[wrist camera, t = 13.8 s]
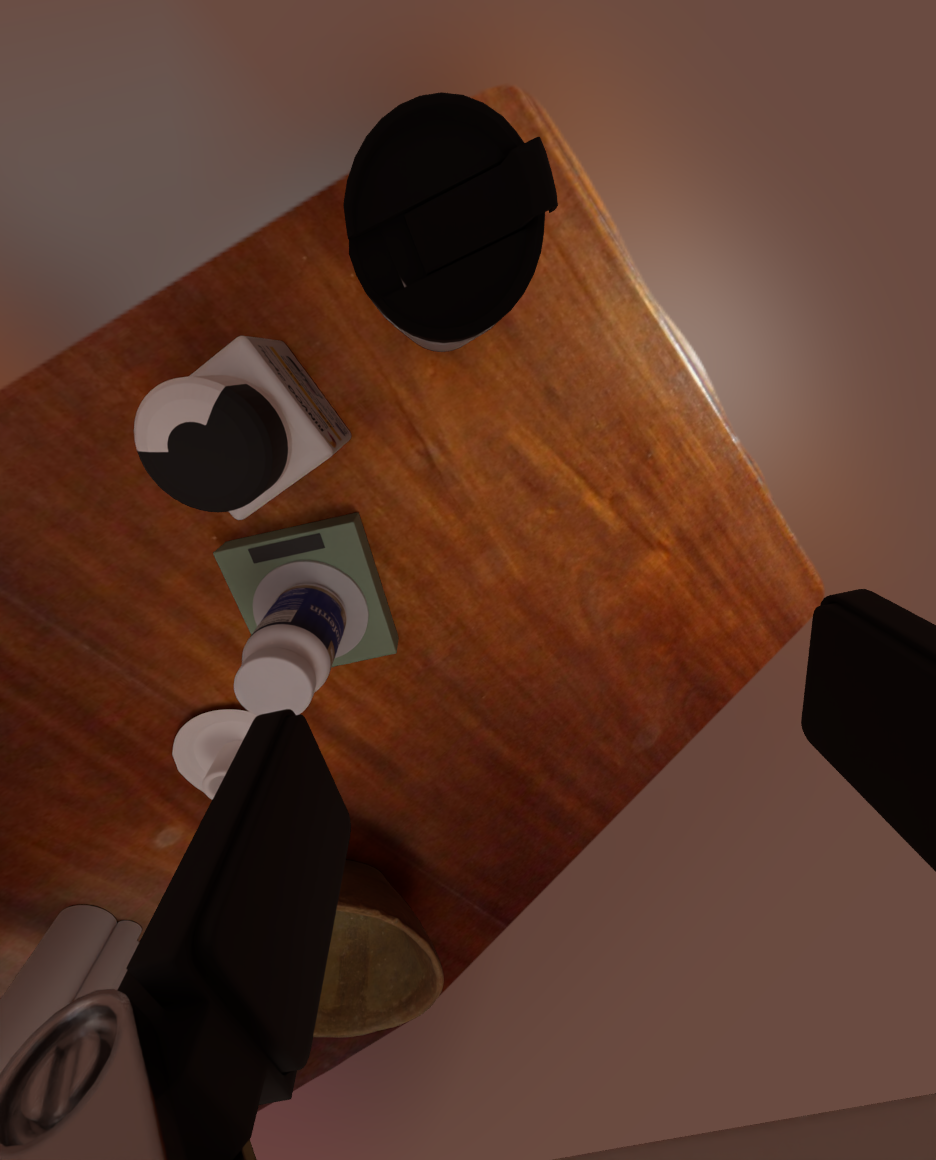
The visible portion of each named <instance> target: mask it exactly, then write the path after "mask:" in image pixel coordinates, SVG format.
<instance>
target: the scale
mask: <svg viewBox="0 0 936 1160" xmlns="http://www.w3.org/2000/svg"><path fill="white" fill-rule="evenodd" d="M213 554H214V557H215V559H216V561H217V563H218V565H219V567H220V569H221V571H222V573H223V576H224V578H225V580H226V582H227V584H228V586H229V588H230V590H231V593H232V595H233V597H234V599H235V601H236V603H237V605H238V607H239V610H240V612H241V614H242V616H243V618H244V620H245V622H246V624H247V626H248V629H249V631H250V633H251V635H252V634H253V632H254V631H255V629H256V628H257V626H258V625H259V623H260V622H261V621H262V619H263V618H264V616H265V615H266V613H267V612H268V610H269V609H270V607H271V606H272V604H273V603H274V602H275V600H276V599H277V598H278V596H279V595H280V594H281V593H282V592H284V591H285V590H286V589H288V588H290V587H292V586H295V585H299V584H315V585H320V586H322V587H325V588H327V589H328V590H330V591H332V592H333V593H334V594H335V595H336V596H337V597H338V598H339V599H340V600H341V602H342V603H343V605H344V608H345V610H346V616H347V621H346V627H345V630H344V633H343V636H342V639H341V641H340V644H339V647H338V650H337V653H336V656H335V658H334V661H333V664H332V667H334V666H338V665H343V664H348V663H353V662H357V661H362V660H367V659H371V658H376V657H381V656H386V655H390V654H395V653H397V646H398V634H397V631H396V628H395V625H394V622H393V619H392V616H391V612H390V609H389V606H388V603H387V600H386V597H385V594H384V591H383V587H382V584H381V581H380V578H379V575H378V572H377V569H376V566H375V562H374V559H373V556H372V553H371V550H370V547H369V544H368V540H367V537H366V534H365V531H364V528H363V525H362V522H361V519H360V515H359V513H353V514H348V515H344V516H339V517H335V518H330V519H326V520H321V521H317V522H312V523H308V524H303V525H299V526H294V527H290V528H285V529H281V530H276V531H272V532H267V533H263V534H258V535H254V536H250V537H245V538H241V539H236V540H232V541H227V542H225V543H224V544H223V545H222V546H220V547H219V548H218V549H217V550H216V551H215V552H213Z"/></svg>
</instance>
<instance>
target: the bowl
mask: <svg viewBox="0 0 936 1160" xmlns="http://www.w3.org/2000/svg"><path fill="white" fill-rule="evenodd" d="M443 982H444V981H443V970H442V966H441V963H440V960H439V957H438V955H437V952H436V950H435V948H434V946H433V944H432V942H431V940H430V939H429V937H428V935H427V934H426V932H425V930H424V928H423V927H422V925H421V923H420V921H419V920H418V918H417V917H416V915H415V914H414V913H413V911H412V910H411V908H410V907H409V905H408V904H407V903H406V902H405V900H404V899H403V898H402V897H401V896H400V894H399V893H398V892H397V891H396V890H395V889H394V888H393V887H392V886H391V885H390V884H389V882H388V881H387V880H386V879H385V877H384V876H383V874H382V873H381V872H380V871H378V870H377V869H376V868H373V867H371V866H369V865H366V864H363V863H359V862H355V861H350V860H346V861H345V866H344V872H343V877H342V882H341V888H340V893H339V899H338V904H337V910H336V915H335V920H334V926H333V931H332V937H331V942H330V947H329V953H328V958H327V964H326V969H325V975H324V980H323V985H322V991H321V996H320V1002H319V1007H318V1013H317V1018H316V1023H315V1029H314V1034H313V1037H353V1036H358V1035H364V1034H368V1033H371V1032H375V1031H379V1030H383V1029H387V1028H392V1027H395V1026H398V1025H401V1024H403V1023H405V1022H408V1021H410V1020H412V1019H414V1018H416V1017H418V1016H420V1015H421V1014H423V1013H424V1012H425V1011H426V1010H427V1009H429V1008H430V1007H431V1006H432V1005H433V1003H434V1002H435V1001H436V999H437V998H438V996H439V995H440V993H441V992H442V987H443Z"/></svg>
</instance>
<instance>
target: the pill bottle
mask: <svg viewBox="0 0 936 1160" xmlns="http://www.w3.org/2000/svg"><path fill="white" fill-rule="evenodd" d="M346 621H347V616H346V610H345V608H344V605H343V603H342V602H341V600H340V599H339V598H338V597H337V596H336V595H335V594H334V593H333V592H332V591H330V590H328V589H327V588H325V587H322V586H320V585H315V584H299V585H295V586H292V587H290V588H288V589H286V590H285V591H284V592H282V593H281V594H280V595H279V596H278V598H277V599H276V600H275V602H274V603H273V604H272V606H271V607H270V609H269V610H268V612H267V613H266V615H265V616H264V618H263V619H262V621H261V622H260V623H259V625H258V626H257V628H256V629H255V631H254V632H253V634H252V635H251V636H250V638H249V640H248V641H247V643H246V645H245V647H244V650H243V654H242V665H241V667H240V669H239V670H238V672H237V674H236V676H235V679H234V691H235V694H236V697H237V699H238V700H239V702H240V703H241V705H242V706H243V707H244V708H245V709H247V710H248V711H249V712H251V713H253V714H254V715H256V716H258V715H261V714H266V713H270V712H275V711H280V710H285V709H291V710H292V711H293V712H294V713H295V715H299V714H300V713H302V712H303V711H304V710H305V709H306V708H307V706H308V705H309V703H310V701H311V699H312V697H313V694H314V692H315V691H317V690H318V689H319V688H320V687H321V686H322V685H323V684H324V682H325V681H326V679H327V677H328V675H329V673H330V670H331V667H332V664H333V661H334V658H335V656H336V653H337V650H338V647H339V644H340V641H341V639H342V636H343V633H344V630H345V627H346Z"/></svg>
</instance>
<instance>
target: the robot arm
mask: <svg viewBox="0 0 936 1160" xmlns="http://www.w3.org/2000/svg"><path fill="white" fill-rule="evenodd" d="M801 724H802V729H803V732H804V734H805V736H806V738H807V739H808V741H809V742H810V743H811V744H812V745H813V746H814V747H815V748H816V749H817V750H818V751H819V752H820V754H822V756H824V758H825V759H826V760H827V761H828V762H829V763H830V764H831V765H832V766H833V767H834V768H835V769H836V770H837V771H838V772H839V773H840V774H841V775H842V776H843V777H844V778H845V779H846V780H847V781H848V782H849V783H850V784H851V785H852V786H853V787H854V788H855V789H856V790H857V791H858V792H859V793H860V794H861V796H862V797H863V798H865V800H866V801H867V802H868V803H869V804H870V805H871V806H872V807H873V808H874V809H875V810H876V811H877V812H878V813H879V814H880V815H881V816H882V817H883V818H884V819H885V820H886V821H887V822H888V823H889V824H890V825H891V826H892V827H893V828H894V829H895V830H896V831H897V832H898V833H899V834H900V836H901V837H902V838H903V839H904V840H905V841H906V842H907V843H908V844H909V845H910V846H911V847H912V848H913V849H914V850H915V851H916V852H917V853H918V854H919V855H920V856H921V857H922V858H923V859H924V860H925V861H926V862H927V863H928V864H929V865H930V866H931V867H932V868H933V869H934V870H935V871H936V625H934V624H932V623H930V622H928V621H927V620H925V619H923V618H921V617H919V616H917V615H915V614H913V613H912V612H910V611H908V610H906V609H904V608H902V607H900V606H898V605H897V604H895V603H893V602H891V601H889V600H887V599H885V598H883V597H881V596H879V595H878V594H876V593H874V592H872V591H869V590H866V589H858V590H853V591H849V592H844V593H839V594H835V595H830V596H827V597H825V598H824V599H823V601H822V602H821V605H820V606H819V607H817V608H816V609H815V610H814V614H813V621H812V630H811V640H810V648H809V657H808V666H807V675H806V684H805V693H804V702H803V711H802V721H801ZM350 832H351V823H350V817H349V813H348V811H347V809H346V806H345V804H344V802H343V800H342V798H341V795H340V793H339V791H338V789H337V787H336V784H335V782H334V780H333V778H332V776H331V773H330V771H329V769H328V767H327V765H326V762H325V760H324V758H323V756H322V754H321V751H320V749H319V747H318V745H317V743H316V740H315V738H314V736H313V734H312V732H311V729H310V727H309V725H308V723H307V721H306V719H305V717H304V716H303V715H295V713H294V712H293V711H292V710H291V709H285V710H280V711H275V712H270V713H266V714H261V715H258V716H256V717H255V719H254V720H253V722H252V724H251V726H250V728H249V730H248V732H247V734H246V736H245V738H244V739H243V741H242V743H241V745H240V747H239V749H238V751H237V753H236V755H235V757H234V759H233V761H232V763H231V765H230V767H229V769H228V771H227V773H226V775H225V777H224V778H223V780H222V782H221V784H220V786H219V788H218V790H217V792H216V794H215V796H214V798H213V800H212V802H211V804H210V806H209V808H208V810H207V812H206V814H205V815H204V817H203V819H202V821H201V823H200V825H199V827H198V829H197V831H196V833H195V835H194V837H193V839H192V841H191V843H190V845H189V847H188V849H187V851H186V853H185V854H184V856H183V858H182V860H181V862H180V864H179V866H178V868H177V870H176V872H175V874H174V876H173V878H172V880H171V882H170V884H169V886H168V888H167V890H166V892H165V893H164V895H163V897H162V899H161V901H160V903H159V905H158V907H157V909H156V911H155V913H154V915H153V917H152V919H151V921H150V923H149V925H148V927H147V929H146V930H145V932H144V934H143V936H142V938H141V940H140V942H139V944H138V946H137V948H136V950H135V952H134V954H133V956H132V958H131V960H130V962H129V964H128V966H127V968H126V969H127V972H126V974H125V976H124V978H123V980H122V982H121V984H120V986H119V988H118V990H115V989H103V990H96V991H93V992H91V993H89V994H86V995H84V996H81V997H79V998H77V999H75V1000H74V1001H72V1002H71V1003H69V1004H68V1005H66V1006H65V1007H63V1008H62V1009H60V1010H59V1011H57V1012H56V1013H54V1014H53V1015H52V1016H51V1017H50V1018H49V1019H48V1020H47V1021H45V1022H44V1023H43V1024H42V1025H41V1026H40V1027H39V1028H38V1029H37V1030H36V1031H34V1032H33V1033H32V1034H31V1035H30V1037H29V1038H28V1039H27V1040H26V1041H25V1042H24V1043H23V1045H22V1046H21V1047H20V1048H19V1049H18V1050H17V1052H16V1053H15V1054H14V1055H13V1056H12V1057H11V1059H10V1060H9V1061H8V1063H7V1064H6V1066H5V1067H4V1069H3V1070H2V1072H1V1073H0V1160H256V1157H255V1154H254V1152H253V1148H252V1145H251V1142H250V1138H251V1135H252V1130H253V1126H254V1122H255V1118H256V1114H257V1110H258V1105H261V1104H267V1103H272V1102H278V1101H283V1100H289V1099H291V1097H292V1092H293V1087H294V1082H295V1077H296V1072H297V1070H300V1069H302V1068H303V1067H304V1066H305V1065H306V1063H307V1060H308V1058H309V1054H310V1050H311V1045H312V1040H313V1034H314V1029H315V1023H316V1018H317V1013H318V1007H319V1002H320V996H321V991H322V985H323V980H324V975H325V969H326V964H327V958H328V953H329V947H330V942H331V937H332V931H333V926H334V920H335V915H336V910H337V904H338V899H339V893H340V888H341V882H342V877H343V872H344V866H345V861H346V855H347V850H348V844H349V839H350ZM555 1160H936V1093H935V1094H929V1095H924V1096H919V1097H912V1098H906V1099H900V1100H894V1101H889V1102H883V1103H877V1104H871V1105H865V1106H859V1107H854V1108H848V1109H842V1110H837V1111H830V1112H825V1113H819V1114H813V1115H807V1116H801V1117H795V1118H789V1119H784V1120H778V1121H772V1122H766V1123H760V1124H755V1125H750V1126H743V1127H737V1128H732V1129H726V1130H720V1131H714V1132H708V1133H702V1134H697V1135H691V1136H685V1137H679V1138H674V1139H668V1140H662V1141H656V1142H650V1143H645V1144H639V1145H633V1146H627V1147H621V1148H616V1149H610V1150H605V1151H599V1152H593V1153H588V1154H582V1155H577V1156H571V1157H565V1158H560V1159H555Z"/></svg>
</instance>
